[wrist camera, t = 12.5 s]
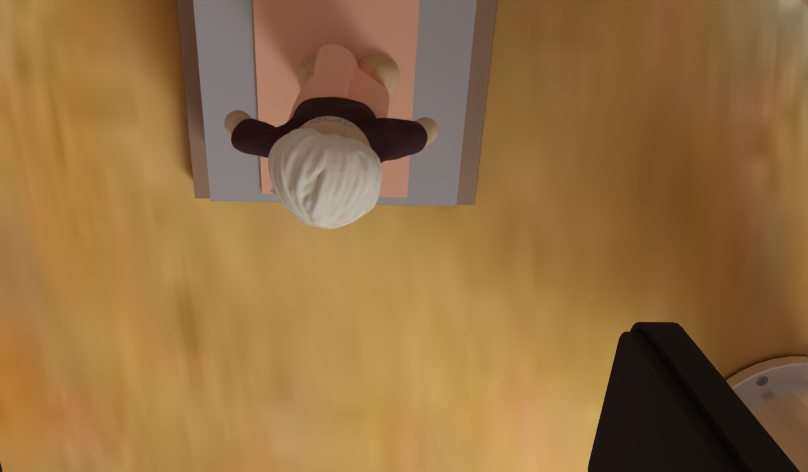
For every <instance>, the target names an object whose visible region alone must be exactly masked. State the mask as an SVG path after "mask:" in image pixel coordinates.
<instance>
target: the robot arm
mask: <svg viewBox="0 0 808 472" xmlns="http://www.w3.org/2000/svg"><path fill="white" fill-rule="evenodd" d="M0 472H2V467H1V464H0ZM588 472H808V357H806V356H789V357H782V358H776V359H771V360H768V361H765V362H761V363H758V364H755V365H753V366H751V367H749V368H746V369H744V370H742V371H740V372H738V373H737V374H735V375H734V376H732V377H730V378H729V379H727V380H726V381H725V379H724V378H723V377H722V376H721V375H720V373H719V372H718V371H717V370H716V368H715V367H714V366H713V365H712V364H711V362H710V361H709V360H708V359H707V357H706V356H705V355H704V354H703V353H702V351H701V350H700V349H699V348H698V346H697V345H696V344H695V343H694V342H693V340H692V339H691V338H690V337H689V335H688V334H687V333H686V332H685V331H684V329H683V328H682V327H681V326H680V325H679V324H677V323H673V322H638V323H635V324H634V325H633V327H632V328H631V331H630V332H624V333H622V334H621V336H620V338H619V341H618V345H617V350H616V354H615V358H614V362H613V366H612V370H611V374H610V378H609V382H608V387H607V391H606V395H605V399H604V403H603V407H602V411H601V415H600V419H599V423H598V428H597V432H596V436H595V440H594V444H593V448H592V452H591V456H590V460H589V465H588Z"/></svg>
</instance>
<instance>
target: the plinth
mask: <svg viewBox="0 0 808 472" xmlns="http://www.w3.org/2000/svg"><path fill="white" fill-rule="evenodd" d="M497 2H498V0H176V5H177V15H178V26H179V36H180V46H181V57H182V67H183V77H184V88H185V98H186V109H187V119H188V129H189V140H190V150H191V160H192V171H193V181H194V191H195V198H209V199H210V201H248V202H281V201H280V200H279V199H278V198H277V197H276V196H275V195H274V194H273V193H272V192H271V190H273V188H274V187H273V185H272V182H271V179H270V175H269V168H268V158H265V157H261V156H256V155H251V154H245V153H243V152H240V151H239V150H237V149H235V148H234V147H233V146H232V143H231V136H230V135H229V134H228V132H227V131H226V129H225V126H224V122H225V118H226V116H227V115H228V114H229V113H230V112H232V111H235V110H241V111H244V112H246V113H247V114H248V115H249V116H250V117H251V118H253V119H256V120H259V121H262V122H266V123H268V124H270V125H273V126H275V127H278V126H281V125H283V124H285V123H286V122H288V121H289V120H288V119H289V116H290V114H291V112H292V107H293V105H294V103H295V100H296V98H297V96H298V94H299V92H300V91H301V87H300V83H299V79H298V71H299V67H300V65H301V64H302V62H303V61H304V60H306V59H307V58H308V57H311V56H314V55H317V53H318V51H319V49H320V47H322V46H324V45H329V44H337V45H340V46H342V47H344V48H346V49H348V50H349V51H350V52H351V53H352V54H353V56H354V58H355V59H356V61H357V64H358V65H359V63H360V62H361V61H362V60H363V59H364V58H366V57H368V56H371V55H380V56H384V57H387V58H389V59H391V60H392V61H393V62H394V63H395V64H396V65H397V67H398V69H399V73H400V81H399V84H398V86H397V89H396V91H395V93H394V95H393V97H392V99H391V101H390V107H389V115H388V118H396V119H403V120H411V121H415V120H418V119H420V118H422V117H428V118H431V119H433V120H434V121H435V122H436V123H437V125H438V129H439V133H438V136H437V138H436V140H435V141H434V142H432V143H430V144H428V145H427V146H425V147H424V149H422V150H421V151H420V152H418V153H416V154H413V155H409V156H405V157H402V158H400V159H396V160H388V161H384V162H382V163H381V170H382V182H381V188H380V192H379V197H378V200H377V202H376V205H419V206H456V205H457V204H462V205H475V197H476V188H477V179H478V170H479V162H480V153H481V144H482V135H483V126H484V117H485V108H486V100H487V91H488V82H489V73H490V64H491V55H492V46H493V37H494V29H495V20H496V11H497Z"/></svg>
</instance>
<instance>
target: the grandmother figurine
mask: <svg viewBox="0 0 808 472" xmlns="http://www.w3.org/2000/svg"><path fill="white" fill-rule="evenodd" d="M298 79H299V83H300V87H301V91H300V92H299V94H298V96H297V98H296V100H295V103H294V105H293V107H292V112H291V114H290V116H289V119H288V120H289V121H288V122H286V123H285V124H283V125H281V126H278V127H275V126H273V125H270V124H268V123H266V122H262V121H259V120H256V119H253V118H251V117H250V116H249V115H248V114H247V113H246V112H244V111H241V110H235V111H232V112H230V113H229V114H228V115H227V116H226V118H225V122H224V126H225V129H226V131H227V132H228V134H229V135H230V136H231V143H232V146H233V147H234V148H235V149H237V150H239V151H240V152H243V153H245V154H251V155H256V156H261V157H265V158H268V168H269V175H270V179H271V182H272V185H273V187H274V188H273V190H271V192H272V193H273V194H274V195H275V196H276V197H277V198H278V199H279V200H280V201H281V202H282V203H283V205H284V206H285V207H286V208H287V209H288V210H289V212H290V213H291V214H292V215H293V216H294V217H295V218H297V219H299V220H300V221H302V222H303V223H305V224H307V225H312V226H318V227H321V228H325V229H331V228H339V227H341V226H344V225H346V224H349V223H352V222H354V221H355V220H357V219H358V218H359V217H361V216H363V215H365V214H366V213H368V212H369V211H370V210H371V209H372V208H373V207H374V206H375V204H376V202H377V200H378V197H379V192H380V188H381V182H382V170H381V163H382V162H384V161H388V160H396V159H400V158H402V157H405V156H409V155H413V154H416V153H418V152H420V151H421V150H422V149H424V147H425V146H427V145H428V144H430V143H432V142H434V141H435V140H436V138H437V136H438V133H439V129H438V125H437V123H436V122H435V121H434V120H433V119H431V118H428V117H422V118H420V119H418V120H415V121H411V120H403V119H396V118H388V115H389V107H390V101H391V99H392V97H393V95H394V93H395V91H396V89H397V86H398V84H399V81H400V73H399V69H398V67H397V65H396V64H395V63H394V62H393V61H392V60H391V59H389V58H387V57H384V56H380V55H371V56H368V57H366V58H364V59H363V60H362V61H361V62H360V63H359V65H358V64H357V61H356V59H355V58H354V56H353V54H352V53H351V52H350V51H349V50H348V49H346V48H344V47H342V46H340V45H337V44H329V45H324V46H322V47H320V49H319V51H318V53H317V55H314V56H311V57H308V58H307V59H306V60H304V61H303V62H302V64H301V65H300V67H299V71H298Z"/></svg>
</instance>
